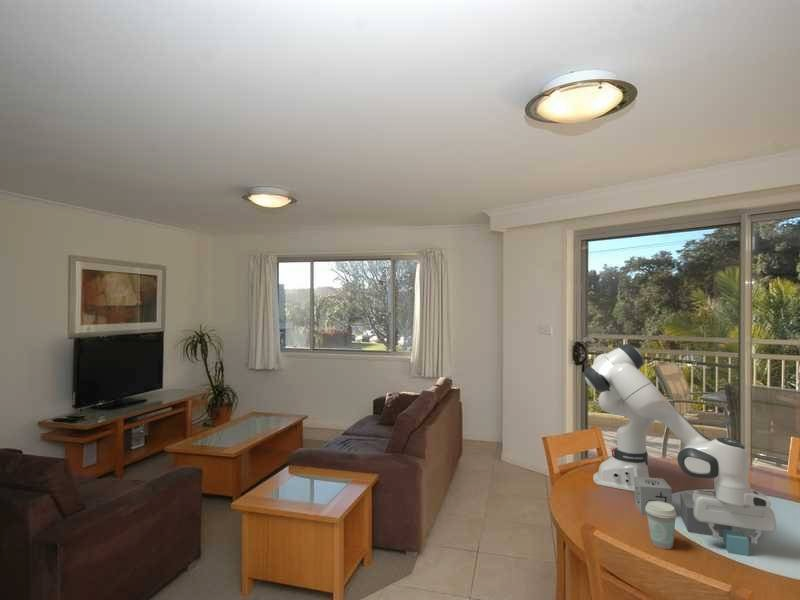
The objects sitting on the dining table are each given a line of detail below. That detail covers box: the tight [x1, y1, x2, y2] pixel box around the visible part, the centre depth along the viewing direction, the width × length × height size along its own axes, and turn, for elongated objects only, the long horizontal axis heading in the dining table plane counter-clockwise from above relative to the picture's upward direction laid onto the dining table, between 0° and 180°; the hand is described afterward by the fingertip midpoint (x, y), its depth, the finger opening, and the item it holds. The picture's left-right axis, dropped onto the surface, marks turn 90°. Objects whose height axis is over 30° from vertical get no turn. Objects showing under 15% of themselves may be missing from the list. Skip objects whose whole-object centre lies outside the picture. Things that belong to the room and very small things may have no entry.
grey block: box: [679, 493, 733, 538], centre depth 150 cm, size 12×12×8 cm
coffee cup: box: [645, 501, 678, 550], centre depth 139 cm, size 8×8×12 cm
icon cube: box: [634, 477, 673, 516], centre depth 163 cm, size 10×10×10 cm
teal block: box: [722, 529, 750, 557], centre depth 135 cm, size 5×5×5 cm
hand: (734, 540), depth 134 cm, fingers open, 8 cm apart
